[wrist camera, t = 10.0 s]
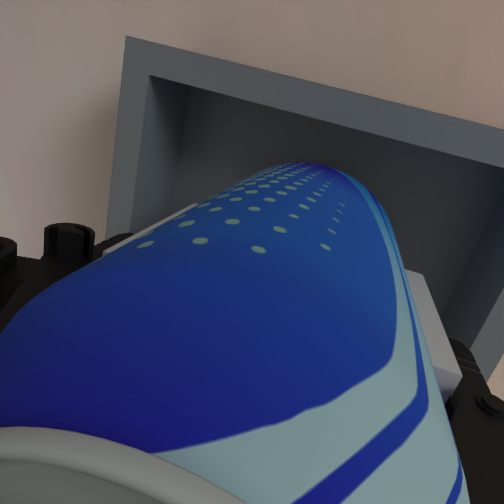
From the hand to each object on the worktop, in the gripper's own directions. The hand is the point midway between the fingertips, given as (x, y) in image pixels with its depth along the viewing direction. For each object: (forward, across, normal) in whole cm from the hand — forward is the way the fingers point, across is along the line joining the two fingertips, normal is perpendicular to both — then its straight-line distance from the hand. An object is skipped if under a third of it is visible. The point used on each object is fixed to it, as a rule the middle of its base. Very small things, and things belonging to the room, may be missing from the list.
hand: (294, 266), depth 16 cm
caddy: (+5, 0, 0) cm, 5 cm away
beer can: (+3, 0, 0) cm, 3 cm away
